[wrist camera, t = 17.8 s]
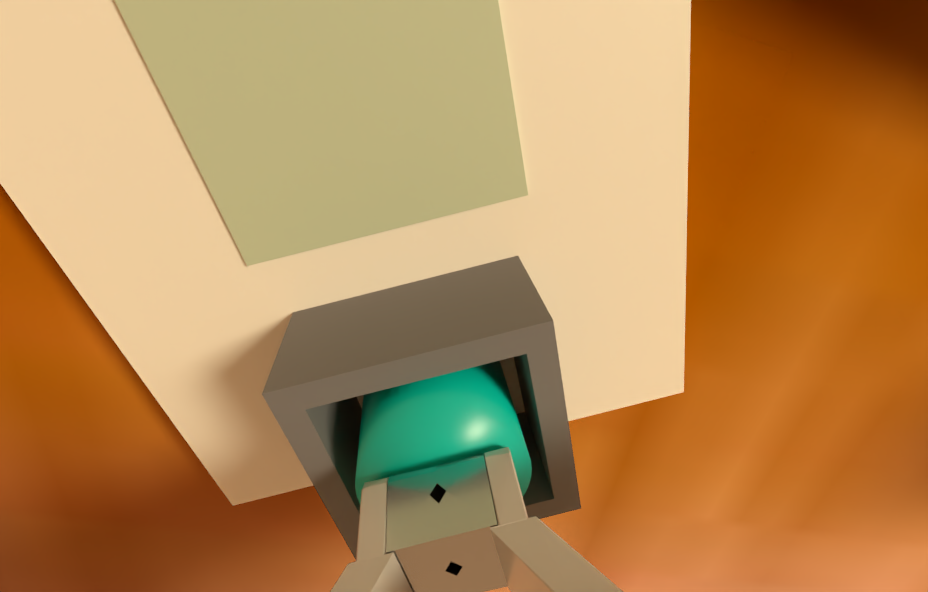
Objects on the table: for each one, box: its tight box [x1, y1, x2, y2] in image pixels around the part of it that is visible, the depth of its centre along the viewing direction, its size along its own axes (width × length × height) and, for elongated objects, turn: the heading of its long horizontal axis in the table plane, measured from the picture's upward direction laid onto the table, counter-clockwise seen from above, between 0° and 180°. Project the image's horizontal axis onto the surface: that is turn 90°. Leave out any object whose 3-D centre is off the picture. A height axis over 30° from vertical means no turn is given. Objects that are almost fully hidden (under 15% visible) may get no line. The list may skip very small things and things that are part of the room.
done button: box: [355, 361, 532, 504], centre depth 11 cm, size 4×4×3 cm
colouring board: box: [0, 0, 691, 559], centre depth 8 cm, size 22×14×4 cm, turn 12°
